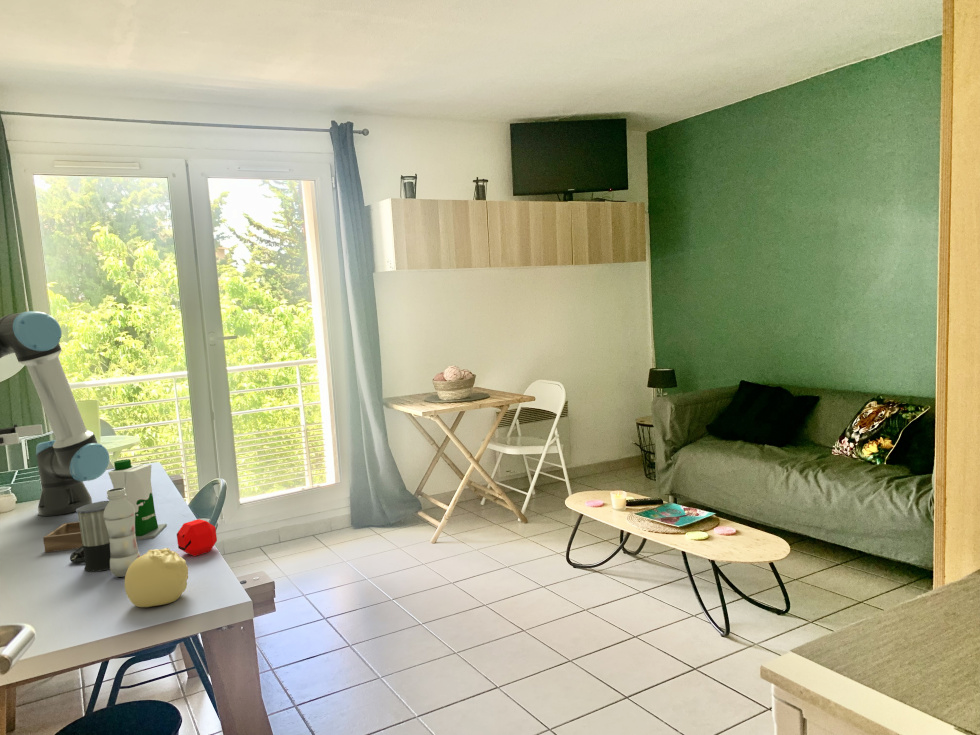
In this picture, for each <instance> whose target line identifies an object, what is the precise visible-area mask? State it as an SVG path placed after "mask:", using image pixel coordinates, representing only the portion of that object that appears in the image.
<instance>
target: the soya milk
mask: <svg viewBox="0 0 980 735" xmlns="http://www.w3.org/2000/svg"><path fill="white" fill-rule="evenodd" d="M113 463H114V469H112V470H111V471H108V473H107V474H108V476H109V479H110V481H111V484H112V487H113V488H112V489H114V488H125V493H126V497H125V498H126V499H127V500H128V501H129V502H130V503H131V504H132V505H133V506H134V508H135V535H136V536H143V535H145V534H147V533H149V532H151V531H153V530H155V529H157V528H158V525H159V524H158V519H157V515H156V509H155V503H154V502H155V501H154V495H153V487H152V486H153V485H152V464H132V460H131V459H119V460H116V461H114V462H113Z"/></svg>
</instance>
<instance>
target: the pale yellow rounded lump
mask: <svg viewBox="0 0 980 735" xmlns="http://www.w3.org/2000/svg"><path fill="white" fill-rule="evenodd" d="M188 579H189V566H188V565H187V561H186V560H185V559H184V558H183V557H182V556H180V555H179V553H178V552H176V551H173V550H171V549H170V548H169V547H167V548H165V547H164V548H162V549H161V548H160V549H158V548H155V549H148V551H147V552H145V553H144V554H143V555H140V557H139V558H137V559H136V560H135V561H134V562H133V563H132V564H131V565H130V566H129V568H128V570H127V572H126V575H125V576H124V590H125V593H126V594H125V595H126V596H127V598H128V600H129V601H130V602H131V603H132V604H133V605H134V606H136V607H139V608H149V607H156V606H157V607H158V606H162V605H168V604H171V603H174V602H176V601H177V600H178V599H179V598H180V597H181V595H182V594H183V593H184V592H185V590H186V589H187V586H188Z"/></svg>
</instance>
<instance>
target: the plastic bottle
mask: <svg viewBox="0 0 980 735" xmlns="http://www.w3.org/2000/svg"><path fill="white" fill-rule="evenodd" d="M106 494H107V495H106V496H107V497H106V498H107V501H109V503H108V504H107V506H106V508H105V510H104V514H103V517H104V521H105V524H106V527H107V531H108V536H109V541H110V569H109V570H110V572H111V574H112V575H113V576H114V577H118V578H120V577H121V578H122V577H125V575H126V572H127V570H128V568H129V566H130V565H131V564H132V563H133V562H134V561H135V560H136V559H137V558H139V557H140V556H141V552H140V551H139V546H138V542H137V540H136V535H135V508H134V506H133V505H132V504H131V503H130V502H129V501H128V500H127V499H126V498H125V497H126V493H125V488H111V489H108V490H107V491H106Z"/></svg>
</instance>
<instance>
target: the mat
mask: <svg viewBox="0 0 980 735" xmlns="http://www.w3.org/2000/svg"><path fill="white" fill-rule="evenodd" d="M167 525H168V524H167V523H162V524H158V528H157V529H155V530H153V531H151V532H149V533H147V534H145V535H143V536H136V541H139V540H147V539H155V538H156V537H157V536H158V535H160V533H161V532H162V531H163V530H164V529H165V528H166V527H167Z"/></svg>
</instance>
